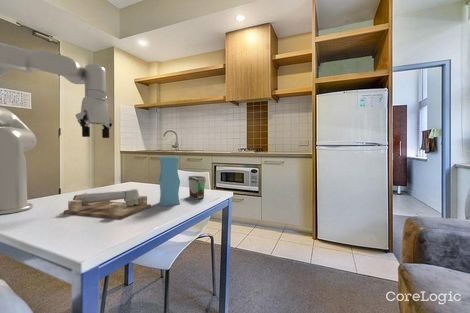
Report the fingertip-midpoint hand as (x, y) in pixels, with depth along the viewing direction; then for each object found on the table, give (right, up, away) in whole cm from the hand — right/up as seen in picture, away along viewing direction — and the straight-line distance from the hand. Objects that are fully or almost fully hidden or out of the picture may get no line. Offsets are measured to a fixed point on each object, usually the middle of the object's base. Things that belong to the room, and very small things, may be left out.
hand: (96, 137), depth 93 cm
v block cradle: (+10, -29, -8) cm, 31 cm away
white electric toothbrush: (+10, -27, -8) cm, 30 cm away
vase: (+30, -29, +4) cm, 41 cm away
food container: (+41, -28, +15) cm, 52 cm away
